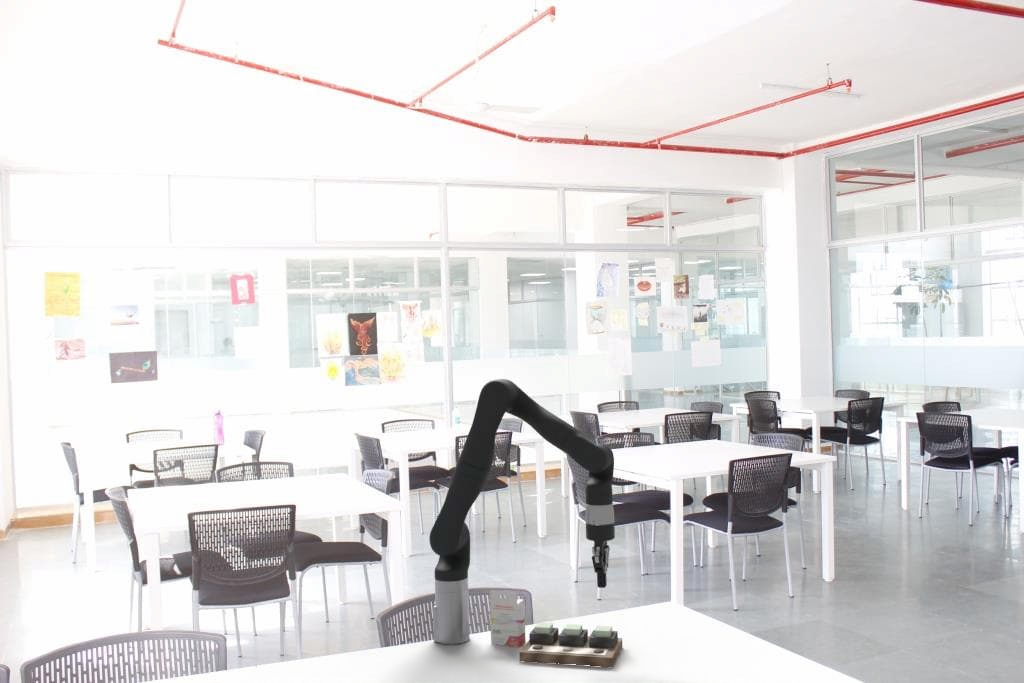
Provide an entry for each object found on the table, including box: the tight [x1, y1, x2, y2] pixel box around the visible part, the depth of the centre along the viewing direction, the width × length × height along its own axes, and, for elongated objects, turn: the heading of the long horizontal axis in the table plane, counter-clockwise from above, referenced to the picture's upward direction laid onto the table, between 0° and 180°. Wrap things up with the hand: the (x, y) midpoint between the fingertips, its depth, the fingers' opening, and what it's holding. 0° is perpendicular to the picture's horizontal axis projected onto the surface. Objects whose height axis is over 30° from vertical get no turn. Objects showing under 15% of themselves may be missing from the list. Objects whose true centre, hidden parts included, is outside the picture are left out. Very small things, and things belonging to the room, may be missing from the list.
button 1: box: [534, 622, 554, 634], centre depth 248 cm, size 4×4×2 cm
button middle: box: [563, 623, 583, 636], centre depth 246 cm, size 4×4×2 cm
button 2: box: [593, 625, 613, 638], centre depth 244 cm, size 4×4×2 cm
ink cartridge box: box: [489, 590, 527, 648], centre depth 255 cm, size 9×5×15 cm, turn 68°
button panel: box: [519, 627, 623, 668], centre depth 244 cm, size 24×16×5 cm, turn 74°
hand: (602, 586), depth 244 cm, fingers closed
